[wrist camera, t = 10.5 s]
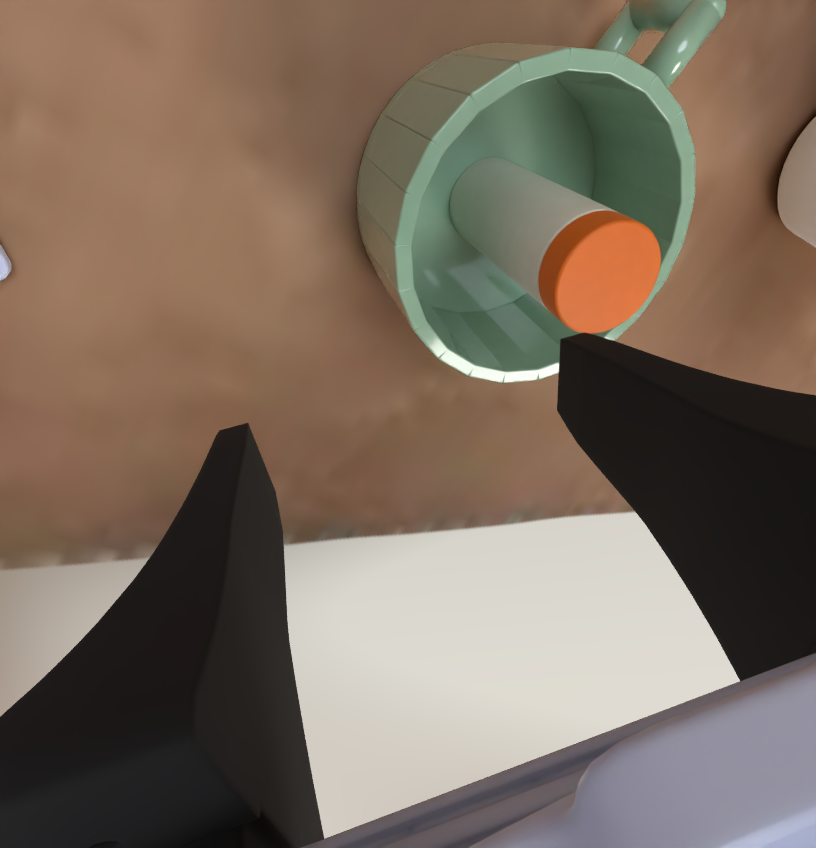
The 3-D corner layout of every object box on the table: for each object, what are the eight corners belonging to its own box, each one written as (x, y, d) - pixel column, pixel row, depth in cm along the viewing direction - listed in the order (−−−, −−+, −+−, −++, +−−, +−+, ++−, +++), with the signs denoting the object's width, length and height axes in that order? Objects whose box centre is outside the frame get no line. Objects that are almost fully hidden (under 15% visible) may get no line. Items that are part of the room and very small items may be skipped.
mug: (488, 353, 25) (546, 421, 20) (303, 237, 20) (328, 296, 15) (694, 98, 21) (820, 117, 16) (529, -135, 15) (649, -195, 11)
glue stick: (452, 250, 21) (552, 346, 15) (445, 166, 19) (557, 235, 13) (524, 233, 21) (652, 319, 15) (525, 149, 19) (671, 208, 13)
